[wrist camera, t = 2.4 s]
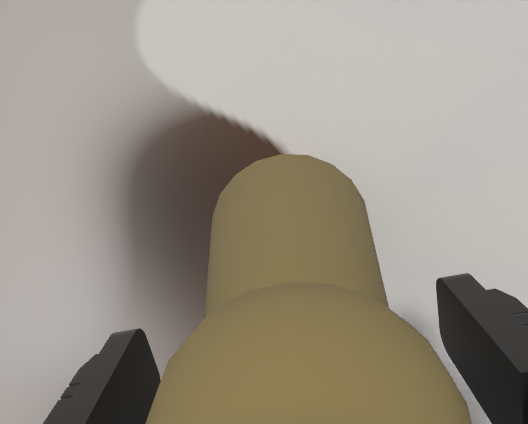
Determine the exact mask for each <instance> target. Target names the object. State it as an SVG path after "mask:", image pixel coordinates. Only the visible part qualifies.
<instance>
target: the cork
mask: <svg viewBox="0 0 528 424" xmlns="http://www.w3.org/2000/svg"><path fill="white" fill-rule="evenodd" d="M146 424H472V423H471V419H470V415H469V411H468V407H467V403H466V401H465V400H464V398H463V396H462V395H461V393H460V391H459V390H458V388H457V386H456V385H455V383H454V381H453V379H452V378H451V376H450V375H449V373H448V371H447V370H446V368H445V367H444V365H443V363H442V362H441V360H440V359H439V357H438V356H437V354H436V352H435V351H434V349H433V348H432V346H431V345H430V343H429V341H428V340H427V339H426V338H425V337H423V336H422V335H421V334H420V333H419V332H418V331H417V330H415V329H414V328H413V327H412V326H411V325H410V324H409V323H407V322H406V321H405V320H403V319H402V318H401V317H399V316H398V315H397V314H395V313H394V312H393V311H391V310H390V309H389V307H388V302H387V298H386V294H385V289H384V285H383V281H382V276H381V272H380V268H379V263H378V259H377V255H376V250H375V246H374V241H373V237H372V233H371V228H370V224H369V220H368V215H367V211H366V207H365V202H364V200H363V198H362V197H361V195H360V193H359V192H358V190H357V188H356V187H355V185H354V184H353V182H352V180H351V179H349V178H348V177H347V176H346V175H344V174H343V173H342V172H341V171H339V170H338V169H337V168H336V167H335V166H333V165H332V164H329V163H327V162H324V161H322V160H319V159H316V158H314V157H311V156H308V155H289V154H280V155H277V156H273V157H269V158H266V159H262V160H258V161H256V162H254V163H253V164H251V165H250V166H248V167H247V168H245V169H243V170H242V171H240V172H239V173H237V174H236V175H235V176H234V177H233V178H232V180H231V181H230V182H229V183H228V185H227V186H226V187H225V189H224V190H223V191H222V192H221V194H220V196H219V199H218V202H217V205H216V207H215V211H214V213H213V216H212V228H211V241H210V254H209V268H208V281H207V293H206V305H205V318H204V320H203V321H202V322H201V324H200V325H199V326H198V327H197V328H196V329H195V330H194V332H193V333H192V334H191V335H190V336H189V337H188V338H187V340H186V341H185V342H184V343H183V344H182V345H181V347H180V348H179V349H178V350H177V352H176V353H175V354H174V355H173V356H172V357H171V358H170V360H169V362H168V364H167V367H166V369H165V372H164V374H163V377H162V379H161V382H160V384H159V387H158V389H157V392H156V395H155V398H154V401H153V404H152V407H151V409H150V412H149V415H148V418H147V421H146Z"/></svg>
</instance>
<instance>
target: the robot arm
mask: <svg viewBox="0 0 528 424" xmlns="http://www.w3.org/2000/svg"><path fill="white" fill-rule="evenodd" d="M436 291H437V303H438V315H439V327H440V334H441V338H442V341H443V344H444V347H445V349H446V351H447V353H448V355H449V357H450V358H451V360H452V361H453V363H454V365H455V366H456V368H457V369H458V371H459V372H460V374H461V376H462V377H463V379H464V380H465V382H466V383H467V385H468V387H469V388H470V390H471V391H472V393H473V394H474V396H475V398H476V399H477V401H478V402H479V404H480V405H481V407H482V409H483V410H484V412H485V413H486V415H487V416H488V418H489V420H490V421H491V423H492V424H528V308H527V307H525V306H524V305H523V304H522V303H521V302H520V301H519V300H518V299H517V298H515V297H513V296H510V295H508V294H506V293H504V292H502V291H499V290H497V289H491V290H485V289H484V288H483V287H482V286H481V285H480V284H479V283H478V282H477V281H476V280H475V279H474V278H473V277H472V276H471V275H470V274H468V273H466V274H460V275H454V276H448V277H443V278H438V279H437V282H436ZM160 382H161V381H160V375H159V372H158V369H157V366H156V363H155V361H154V357H153V354H152V352H151V349H150V346H149V343H148V340H147V338H146V335H145V333H144V331H143V330H142V329H134V330H128V331H123V332H116V333H113V334H112V335H111V336H110V337H109V339H108V340H107V342H106V343H105V345H104V347H103V348H102V350H101V351H100V353H99V354H96V355H94V356H93V357H92V358H91V359H90V360H89V361H88V362H87V363H85V364H84V365H83V366H82V367H81V368H80V369H79V370H78V372H77V373H76V375H75V376H74V378H73V379H72V381H71V382H70V384H69V385H70V386H69V387H67V388H66V390H65V391H64V393H63V394H62V396H61V400H59V401H58V402H57V404H56V405H55V406H54V408H53V409H52V411H51V413H50V414H49V415H48V417H47V419H46V420H45V421H44V423H43V424H146V421H147V418H148V415H149V412H150V409H151V407H152V404H153V401H154V398H155V395H156V392H157V389H158V387H159V384H160Z"/></svg>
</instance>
